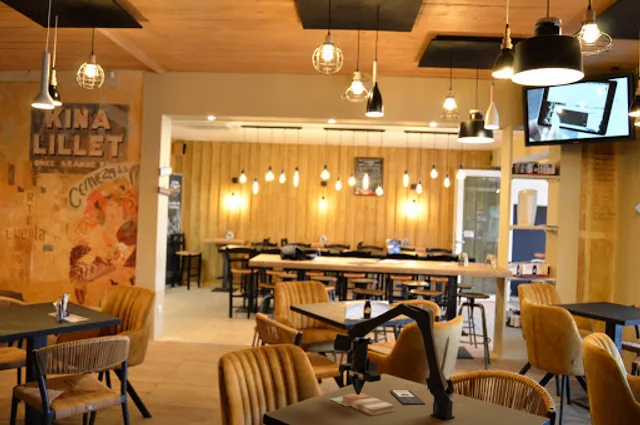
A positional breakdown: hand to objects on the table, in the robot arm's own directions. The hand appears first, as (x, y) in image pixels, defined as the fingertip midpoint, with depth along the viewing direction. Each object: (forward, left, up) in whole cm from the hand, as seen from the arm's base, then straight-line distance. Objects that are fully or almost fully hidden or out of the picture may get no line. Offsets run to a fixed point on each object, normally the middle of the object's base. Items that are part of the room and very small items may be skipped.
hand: (358, 394), depth 238 cm
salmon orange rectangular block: (+1, 0, -3) cm, 3 cm away
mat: (+3, 0, -3) cm, 4 cm away
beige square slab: (-8, 0, -3) cm, 9 cm away
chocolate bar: (-4, -23, -4) cm, 23 cm away
